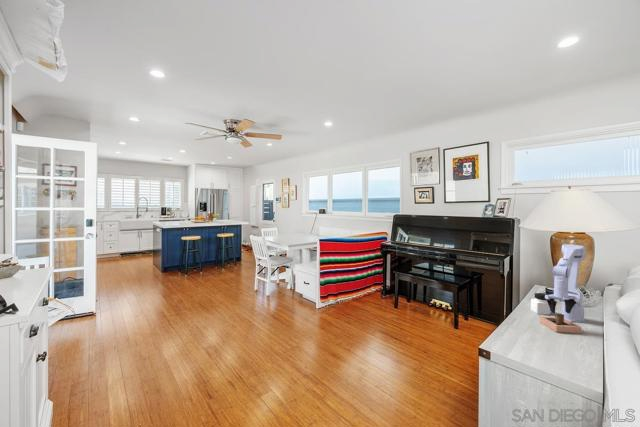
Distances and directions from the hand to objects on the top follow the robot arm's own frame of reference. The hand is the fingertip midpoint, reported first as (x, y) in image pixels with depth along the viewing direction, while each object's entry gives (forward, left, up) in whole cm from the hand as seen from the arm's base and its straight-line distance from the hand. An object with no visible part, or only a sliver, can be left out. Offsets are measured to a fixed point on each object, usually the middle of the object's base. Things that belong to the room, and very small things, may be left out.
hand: (560, 312), depth 145 cm
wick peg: (0, 0, -8) cm, 8 cm away
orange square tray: (0, 0, -9) cm, 9 cm away
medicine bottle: (-5, -22, -9) cm, 24 cm away
